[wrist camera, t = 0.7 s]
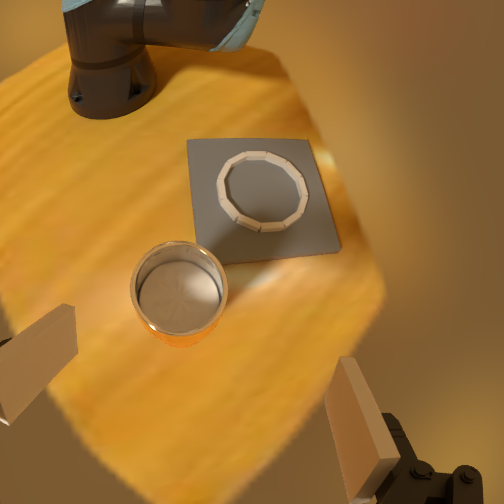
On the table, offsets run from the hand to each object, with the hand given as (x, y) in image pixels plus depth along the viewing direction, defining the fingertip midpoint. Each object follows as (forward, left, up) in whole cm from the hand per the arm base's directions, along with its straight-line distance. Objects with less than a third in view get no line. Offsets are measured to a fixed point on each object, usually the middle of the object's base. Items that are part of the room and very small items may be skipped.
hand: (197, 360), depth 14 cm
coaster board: (-20, +12, -20) cm, 31 cm away
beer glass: (-5, 0, -21) cm, 21 cm away
